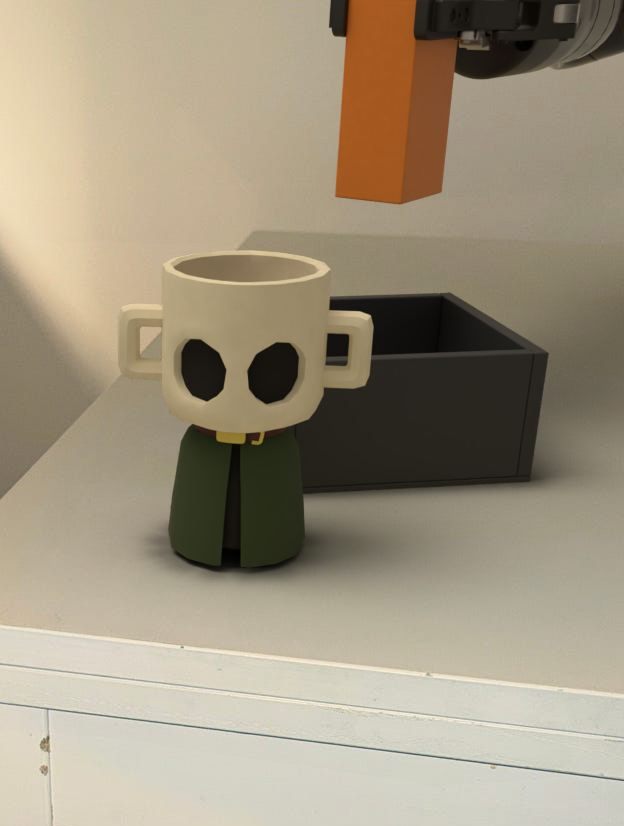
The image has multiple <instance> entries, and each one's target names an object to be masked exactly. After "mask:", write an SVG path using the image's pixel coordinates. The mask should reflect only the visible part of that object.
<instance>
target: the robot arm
mask: <svg viewBox="0 0 624 826" xmlns="http://www.w3.org/2000/svg"><path fill="white" fill-rule="evenodd" d="M348 3H349V0H330V4H329V19H328V28H329V29H331V33H332V35H333V36H334V37H335V38H346V31H347V17H348ZM414 38H415V39H416V40H428V41H430V40H441V39H451V38H454V40H458V41H457V51H456V60H455V70H454V74H456V75H458V76H461V77H463V78H467V79H471V80H483V81H484V80H492V79H498V78H504V77H511V76H518V75H523V74H529V73H534V72H538V71H541V70H545V69H546V68H550V69H552V70H555V71H561V70H569V69H574V68H578V67H582V66H584V65H588V64H592V63H594V62H595V63H596V62H598V61H600V60H604V59H607V58H610V57H614V56H616V55H621V54H623V53H624V0H416V9H415V20H414Z"/></svg>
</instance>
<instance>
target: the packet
mask: <svg viewBox="0 0 624 826" xmlns="http://www.w3.org/2000/svg"><path fill="white" fill-rule="evenodd" d="M415 9H416V0H349V3H348V17H347V31H346V37H345V43H344V45H345V46H344V59H343V74H342V90H341V103H340V119H339V132H338V133H339V134H338V147H337V148H338V149H337V162H336V177H335V190H334V197H335V198H340V199H349V200H358V201H366V202H374V203H382V204H383V203H384V204H390V205H391V204H392V205H404V204H407V203H411V202H414V201H417V200H420V199H424V198H427V197H428V198H429V197H432V196H436V195H438V194H441V193H443V182H444V174H445V164H446V154H447V145H448V136H449V127H450V117H451V107H452V97H453V88H454V87H453V86H454V78H455V72H454V70H455V60H456V51H457V41H458V40H454V38H451V39H441V40H430V41H428V40H416V39H415V38H414V20H415Z"/></svg>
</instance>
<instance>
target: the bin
mask: <svg viewBox="0 0 624 826" xmlns="http://www.w3.org/2000/svg"><path fill="white" fill-rule="evenodd" d="M329 310H333V311H360V312H363V313H365V314H368V315H371V319H372V323H373V339H372V351H371V363H370V375H369V377H368V380H367V382H366V384H365V386H362V387H358V388H355V389H350V388H326V387H324V393H323V397H322V399H321V401H320V403H319V405H318V407H317V409H316V411H315V412H314V413H313V414H312V416H311V417H310V418H309V419H308V420H305V421H302V422H300V423H297V424H294V425H291V426H289V427H290V429H291V430H292V432H293V434H294V437H295V439H296V441H297V444H298V446H299V454H300V466H301V478H302V489H303V495H309V494H310V495H311V494H325V493H326V494H328V493H345V492H347V493H348V492H367V491H385V490H403V489H423V488H442V487H444V488H445V487H461V486H480V485H496V484H497V485H501V484H516V483H530V482H531V477H532V476H531V475H532V469H533V464H534V458H535V457H534V456H535V449H536V443H537V436H538V429H539V422H540V415H541V409H542V402H543V395H544V388H545V381H546V376H547V375H546V374H547V369H548V361H549V355H550V353H549V352H548V351H547V350H545V349H543V348H542V347H540V346H539V345H537V344H535V343H533V342H532V341H531V340H529V339H527V338H526V337H524V336H522V335H521V334H519V333H517V332H516V331H514V330H513V329H511V328H510V327H508V326H506V325H505V324H503V323H501V322H499V321H498V320H496V319H495V318H493V317H491V316H490V315H489V314H487V313H485V312H484V311H481V310H480V309H478V308H476V307H475V306H473V305H472V304H470V303H468V302H467V301H465V300H464V299H462V298H461V297H459V296H457V295H455V294H454V293H452V292H427V293H426V292H425V293H424V292H423V293H397V294H392V293H391V294H368V295H367V294H366V295H365V294H364V295H334V296H333V295H332V296H331V295H330V303H329ZM348 350H349V335H348V334H334V333H327V347H326V362H325V365H328V366H347V363H348Z"/></svg>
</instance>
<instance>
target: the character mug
mask: <svg viewBox="0 0 624 826" xmlns="http://www.w3.org/2000/svg"><path fill="white" fill-rule="evenodd" d="M161 271H162V272H161V304H159V303H156V304H155V303H154V304H153V303H128V304H125V305H122V306H121V307H120V310H119V312H118V316H117V366H118V369H119V372H120V375H121V376H122V377H124V378H127V379H129V380H135V381H140V380H141V381H157V382H158V381H159V382H160V390H161V394H162V396H163V400H164V402H165V405H166V408H167V409H168V413H169V414H170V415H173V416H174V417H176V418H178V419H180V420H181V421H182V422H185V423H189V424H190V425H189V426H188V427H187V429H186V430H185V432H184V434H183V436H182V439H181V440H180V444H179V451H178V457H177V463H176V470H175V475H174V483H173V487H172V493H171V502H170V511H169V520H168V529H167V532H168V539H169V543H170V548H172V549H174V550H175V551H176V552H177V553H179V554H180V555H182V557H185V558H186V559H188V560H190V561H194V562H199V563H202V564H205V565H209V566H221V565H222V563H221V562H222V552H223V549H228V550H240V567H241V568H249V569H250V568H256V567H263V566H271V565H276V564H279V563H281V562H283V561H286V560H288V559H290V558H292V557H294V556H297V555H298V553H299V551H300V549H301V547H302V545H303V543H304V541H305V539H306V527H305V526H306V525H305V500H304V494H303V489H302V478H301V466H300V454H299V446H298V444H297V441H296V439H295V437H294V434H293V432H292V430H291V429H290V427H289V426H291V425H294V424H297V423H300V422H302V421H305V420H308V419H309V418H310V417H311V416H312V414H313V413H314V412H315V411H316V409H317V407H318V405H319V403H320V401H321V399H322V397H323V393H324V387H326V388H350V389H355V388H358V387H362V386H365V384H366V382H367V380H368V377H369V375H370V363H371V351H372V339H373V323H372V319H371V315H368V314H365V313H363V312H360V311H333V310H329V303H330V296H331V287H332V269H331V268H330V267H329V266H328V264H326V262H324V261H321V260H317V259H314V258H313V257H310V256H309V257H308V256H305V255H298V254H292V253H286V252H279V251H265V250H253V249H250V250H249V249H248V250H247V249H246V250H245V249H244V250H243V249H242V250H217V251H215V250H214V251H206V252H194V253H190V254H185V255H181V256H176V257H173V258H171V259H169V260H167V261H166V262H164V263H163V264H162V269H161ZM143 327H147V328H161V347H160V348H161V353H160V355H161V358H153V357H151V358H147V357H142V356H141V328H143ZM327 333H334V334H348V335H349V350H348V363H347V366H328V365H325V362H326V347H327Z"/></svg>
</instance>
